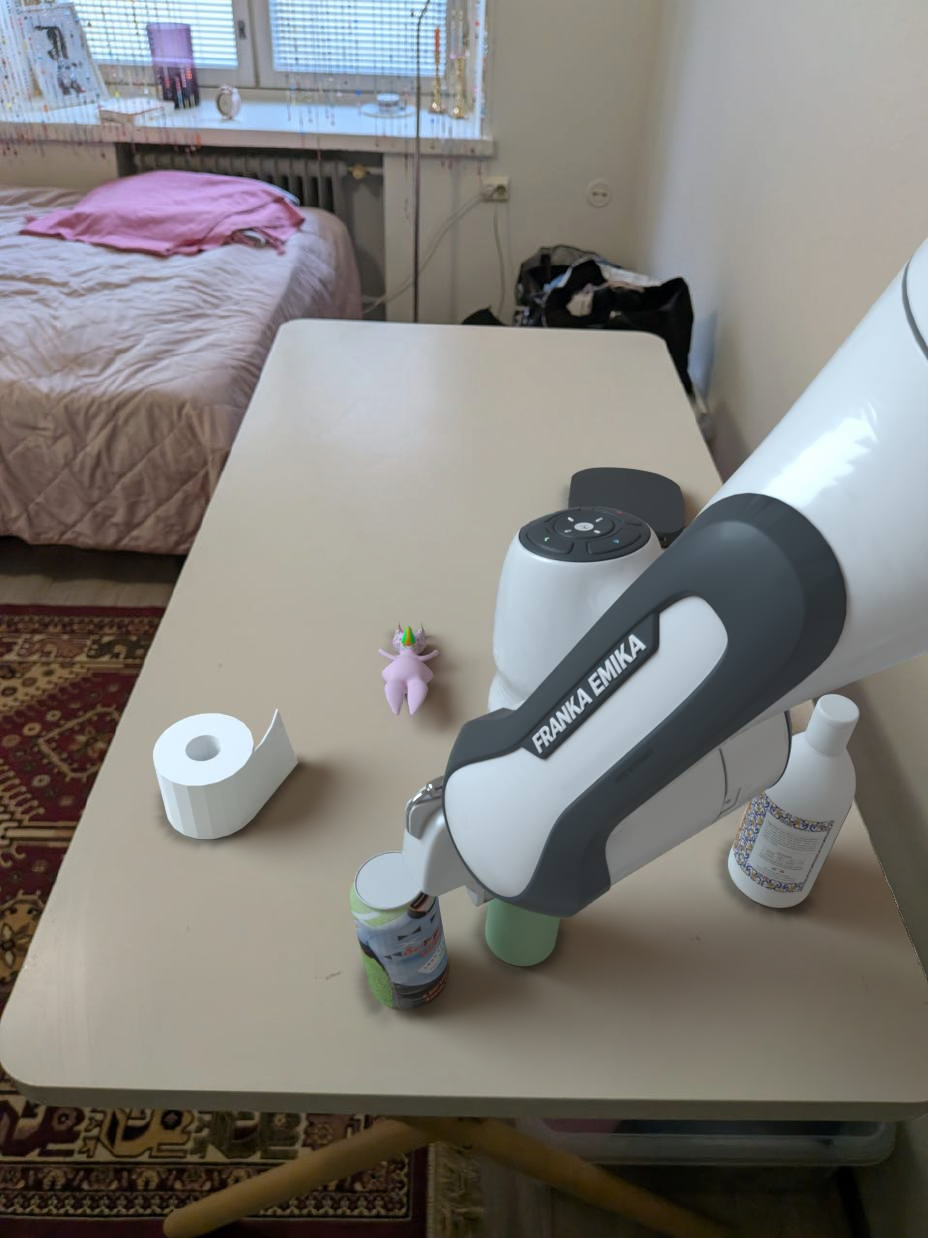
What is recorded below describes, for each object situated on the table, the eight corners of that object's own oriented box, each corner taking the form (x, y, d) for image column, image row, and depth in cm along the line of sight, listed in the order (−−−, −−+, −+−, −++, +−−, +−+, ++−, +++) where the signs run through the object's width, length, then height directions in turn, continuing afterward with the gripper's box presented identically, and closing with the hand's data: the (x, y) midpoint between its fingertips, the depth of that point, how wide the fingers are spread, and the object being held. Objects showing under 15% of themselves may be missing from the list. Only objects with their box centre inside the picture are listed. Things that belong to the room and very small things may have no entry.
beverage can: (429, 1032, 67) (432, 940, 59) (338, 994, 68) (330, 900, 61) (461, 958, 71) (469, 864, 63) (375, 924, 73) (372, 829, 65)
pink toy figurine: (381, 645, 101) (371, 728, 88) (381, 597, 98) (371, 676, 85) (438, 647, 101) (437, 730, 88) (440, 599, 98) (439, 678, 85)
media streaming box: (675, 489, 126) (679, 470, 124) (684, 551, 115) (689, 531, 113) (568, 480, 127) (571, 461, 125) (567, 540, 116) (569, 520, 114)
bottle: (569, 948, 72) (596, 822, 62) (507, 978, 70) (525, 852, 60) (532, 893, 76) (552, 765, 66) (472, 919, 74) (484, 791, 64)
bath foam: (761, 828, 82) (827, 661, 69) (826, 883, 78) (910, 716, 65) (709, 866, 79) (768, 698, 66) (774, 926, 75) (851, 758, 62)
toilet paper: (297, 763, 86) (292, 709, 81) (224, 853, 78) (214, 799, 73) (224, 733, 88) (215, 680, 84) (146, 818, 80) (131, 764, 76)
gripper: (429, 831, 52) (427, 965, 61) (712, 720, 60) (675, 853, 69) (384, 757, 57) (388, 891, 65) (654, 662, 64) (625, 794, 73)
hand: (537, 871), depth 67 cm, fingers open, 8 cm apart
